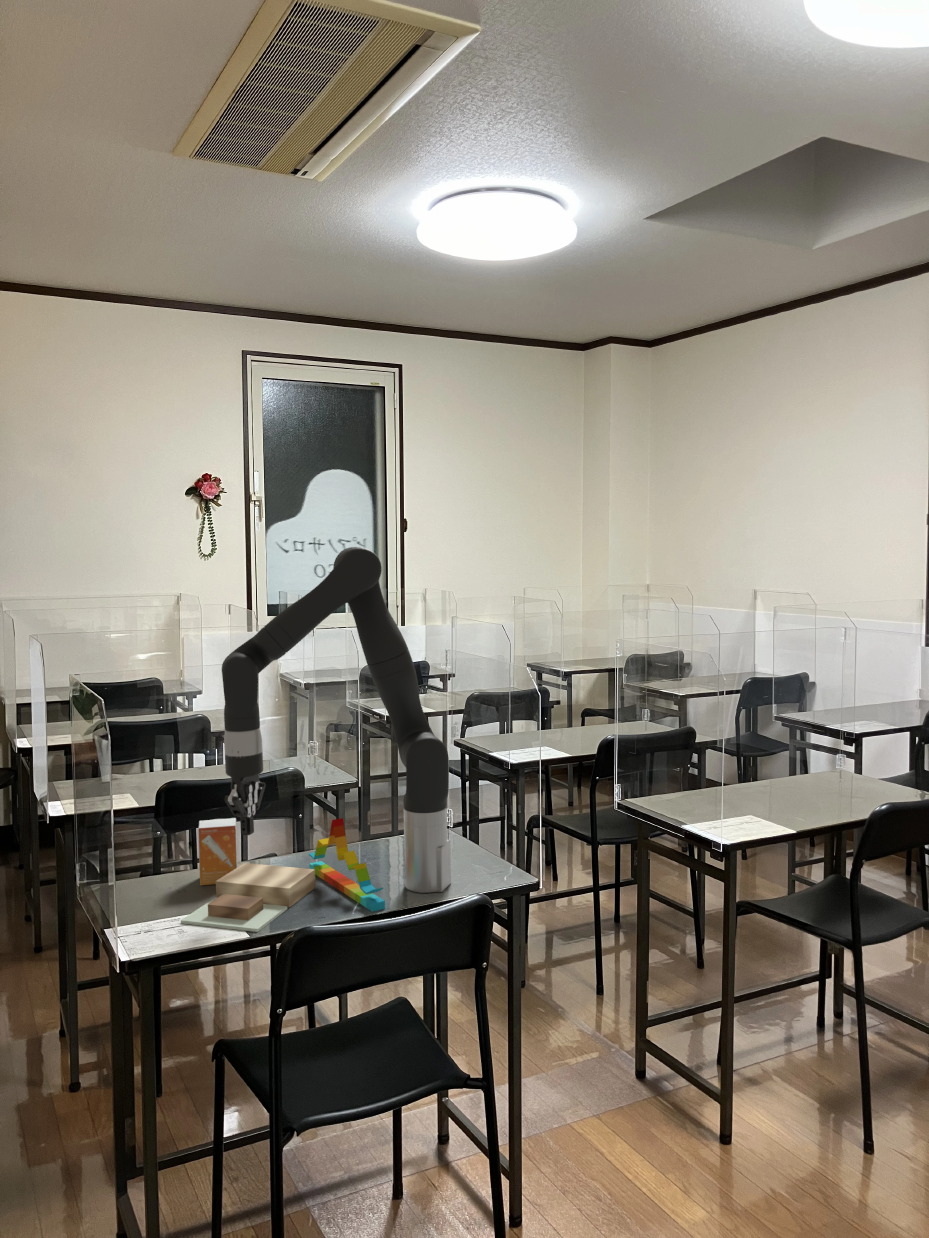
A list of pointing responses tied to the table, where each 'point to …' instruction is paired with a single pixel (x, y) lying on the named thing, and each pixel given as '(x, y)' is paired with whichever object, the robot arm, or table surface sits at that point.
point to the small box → (217, 849)
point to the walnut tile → (235, 907)
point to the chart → (338, 880)
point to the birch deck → (268, 883)
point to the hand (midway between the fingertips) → (247, 833)
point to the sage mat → (252, 925)
